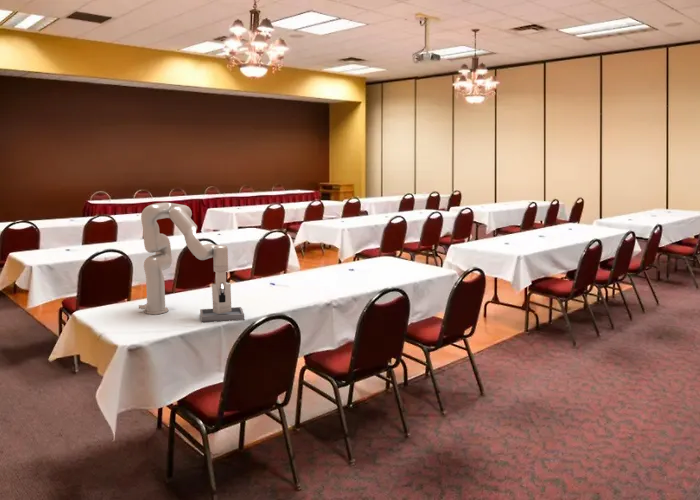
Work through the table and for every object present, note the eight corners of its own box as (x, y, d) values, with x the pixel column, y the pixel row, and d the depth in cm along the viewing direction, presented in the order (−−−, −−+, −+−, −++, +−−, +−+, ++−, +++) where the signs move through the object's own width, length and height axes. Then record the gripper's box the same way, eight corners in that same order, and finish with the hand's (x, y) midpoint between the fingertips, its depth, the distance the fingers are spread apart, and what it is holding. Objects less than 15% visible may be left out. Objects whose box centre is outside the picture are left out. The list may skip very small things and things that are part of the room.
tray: (201, 322, 320) (201, 316, 319) (200, 314, 335) (200, 309, 334) (244, 319, 326) (244, 314, 325) (241, 312, 341) (240, 306, 340)
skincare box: (226, 309, 335) (225, 281, 333) (232, 311, 330) (231, 283, 328) (212, 312, 329) (211, 283, 327) (218, 314, 325) (217, 285, 322)
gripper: (212, 265, 333) (213, 297, 336) (214, 271, 317) (215, 304, 320) (226, 265, 335) (227, 296, 338) (229, 271, 319) (230, 303, 322)
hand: (221, 300), depth 329 cm, fingers closed on skincare box, 8 cm apart
